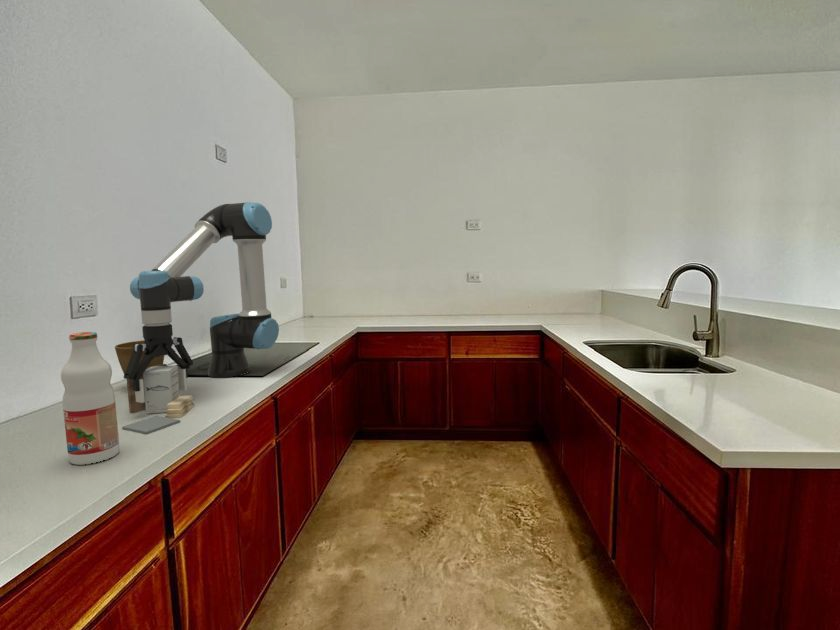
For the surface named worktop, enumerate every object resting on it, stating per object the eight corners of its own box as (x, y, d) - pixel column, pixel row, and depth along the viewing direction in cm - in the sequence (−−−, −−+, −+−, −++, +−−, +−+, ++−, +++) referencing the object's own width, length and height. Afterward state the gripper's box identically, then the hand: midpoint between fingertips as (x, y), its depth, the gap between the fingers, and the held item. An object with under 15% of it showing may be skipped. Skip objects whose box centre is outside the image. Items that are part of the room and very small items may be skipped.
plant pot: (145, 382, 168) (141, 338, 166) (178, 384, 164) (175, 340, 162) (107, 393, 154) (103, 346, 152) (143, 396, 150) (139, 348, 148)
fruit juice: (125, 455, 103) (115, 332, 100) (74, 470, 96) (61, 338, 93) (112, 445, 109) (101, 329, 106) (63, 458, 102) (50, 334, 99)
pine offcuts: (180, 407, 139) (179, 395, 138) (195, 406, 139) (194, 394, 139) (164, 419, 128) (163, 406, 127) (180, 419, 128) (179, 405, 128)
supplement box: (145, 414, 132) (141, 371, 130) (154, 406, 139) (151, 365, 137) (173, 412, 133) (169, 370, 131) (181, 405, 140) (178, 364, 139)
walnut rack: (167, 401, 144) (164, 363, 143) (169, 401, 144) (166, 364, 142) (129, 412, 133) (126, 372, 132) (131, 413, 133) (128, 372, 131)
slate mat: (156, 417, 129) (156, 415, 129) (180, 422, 125) (180, 420, 125) (122, 428, 120) (122, 426, 120) (146, 434, 116) (146, 432, 116)
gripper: (185, 318, 146) (190, 383, 148) (104, 329, 123) (111, 406, 126) (202, 319, 143) (206, 386, 145) (122, 330, 120) (129, 409, 123)
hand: (162, 395), depth 135 cm, fingers open, 13 cm apart
